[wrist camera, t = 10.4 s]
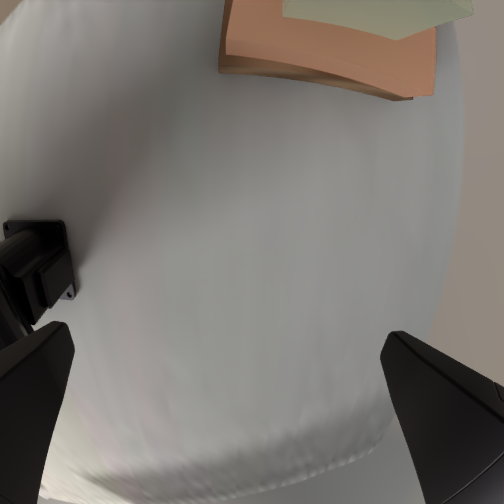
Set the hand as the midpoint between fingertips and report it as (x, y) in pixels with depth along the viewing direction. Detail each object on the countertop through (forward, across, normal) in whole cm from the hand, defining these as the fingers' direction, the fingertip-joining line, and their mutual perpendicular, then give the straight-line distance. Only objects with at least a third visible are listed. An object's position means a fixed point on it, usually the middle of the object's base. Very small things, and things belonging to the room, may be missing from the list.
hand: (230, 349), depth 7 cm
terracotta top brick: (+11, -5, -15) cm, 19 cm away
